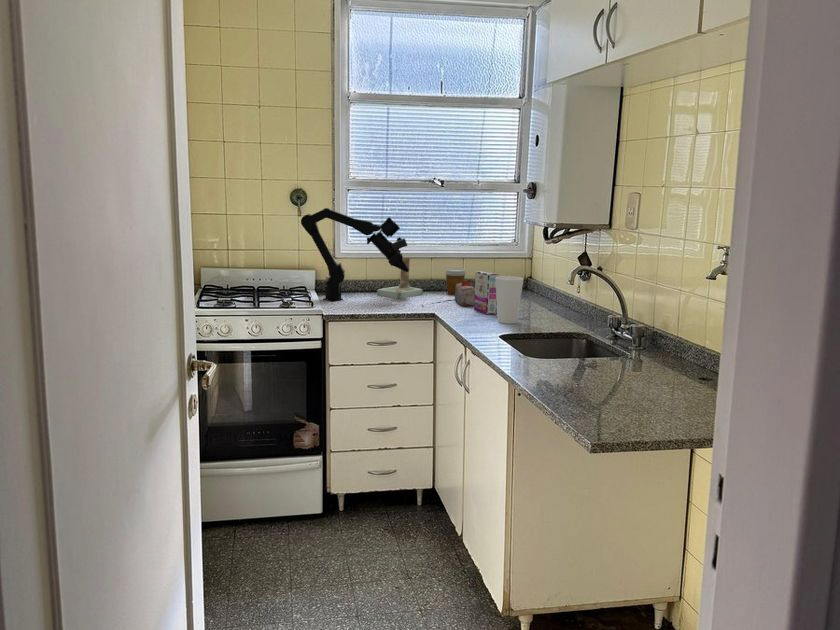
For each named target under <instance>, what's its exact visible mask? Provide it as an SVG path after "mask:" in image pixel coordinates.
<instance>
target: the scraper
mask: <svg viewBox="0 0 840 630" xmlns="http://www.w3.org/2000/svg"><path fill="white" fill-rule="evenodd" d="M403 262H404V263H405V265H406V267H407V268H408V270H409V271H408V272H406V271H403V270H401V269H400V275H399V276H400V277H399V279H400V283H399V284H398V286H399V288H410V287H411V286H410V284H409V283H410V256H403Z"/></svg>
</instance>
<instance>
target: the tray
mask: <svg viewBox="0 0 840 630" xmlns="http://www.w3.org/2000/svg"><path fill="white" fill-rule="evenodd" d="M401 289H403V290H409V291H404V292H396V290H401ZM376 291H377V292H376V295H377V296H381V297H387V298H393V299H405V298H411V297H418V296H422V295H423V291H424V290H423V289H422V288H418V287H411V286H410V288H399V285H397V286H392V287H391V286H390V287H383V288H379V289H378V288H377V290H376Z"/></svg>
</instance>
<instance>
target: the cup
mask: <svg viewBox="0 0 840 630" xmlns="http://www.w3.org/2000/svg"><path fill="white" fill-rule="evenodd" d="M524 280H525V279H524V277H521V276H515V275H514V276H513V275H500V276H499V275H498V276H497V277H496V278H495V282H496V297H497V322H498V323H500V324H506V325H508V324H516V323H517V321H518V316H519V311H520V310H519V309H520V306H521V303H520V302H521V298H522V291H523V285H524Z"/></svg>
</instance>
